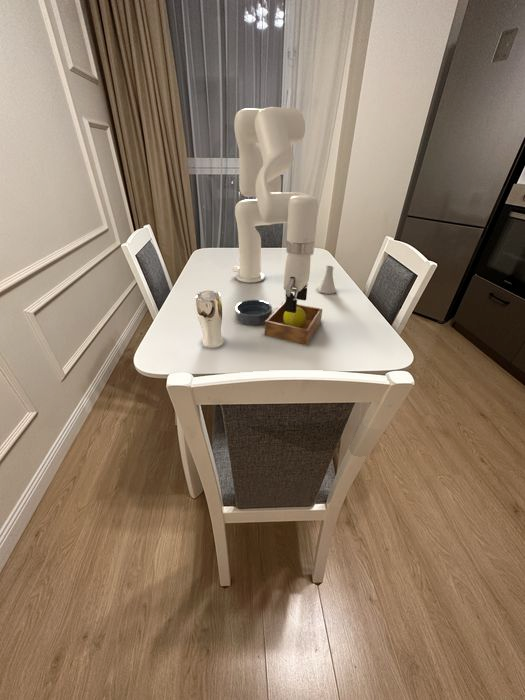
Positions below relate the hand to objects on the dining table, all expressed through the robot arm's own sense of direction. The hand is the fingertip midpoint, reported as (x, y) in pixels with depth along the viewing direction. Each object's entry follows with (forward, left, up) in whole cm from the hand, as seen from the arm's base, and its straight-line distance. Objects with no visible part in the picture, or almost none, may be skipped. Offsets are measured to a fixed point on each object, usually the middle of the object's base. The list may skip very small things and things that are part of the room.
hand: (296, 305), depth 87 cm
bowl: (-15, +1, -8) cm, 17 cm away
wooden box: (0, 0, -8) cm, 8 cm away
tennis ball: (0, 0, -8) cm, 8 cm away
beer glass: (-19, -18, -9) cm, 27 cm away
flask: (+2, +35, -9) cm, 36 cm away
